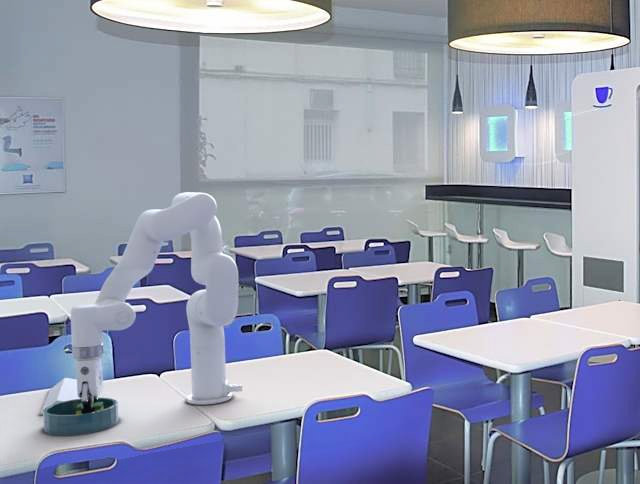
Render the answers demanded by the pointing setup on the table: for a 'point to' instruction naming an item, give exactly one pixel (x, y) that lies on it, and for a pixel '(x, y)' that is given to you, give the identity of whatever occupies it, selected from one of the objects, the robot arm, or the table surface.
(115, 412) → the bowl
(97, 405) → the sponge
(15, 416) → the table surface
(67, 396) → the crown molding
